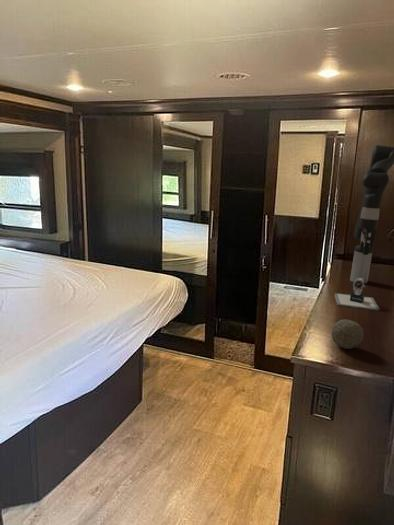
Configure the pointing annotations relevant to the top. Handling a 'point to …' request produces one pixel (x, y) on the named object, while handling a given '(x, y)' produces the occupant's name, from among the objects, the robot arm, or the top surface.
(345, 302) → the mat
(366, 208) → the robot arm
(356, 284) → the watch
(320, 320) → the top surface
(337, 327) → the decorative stone
